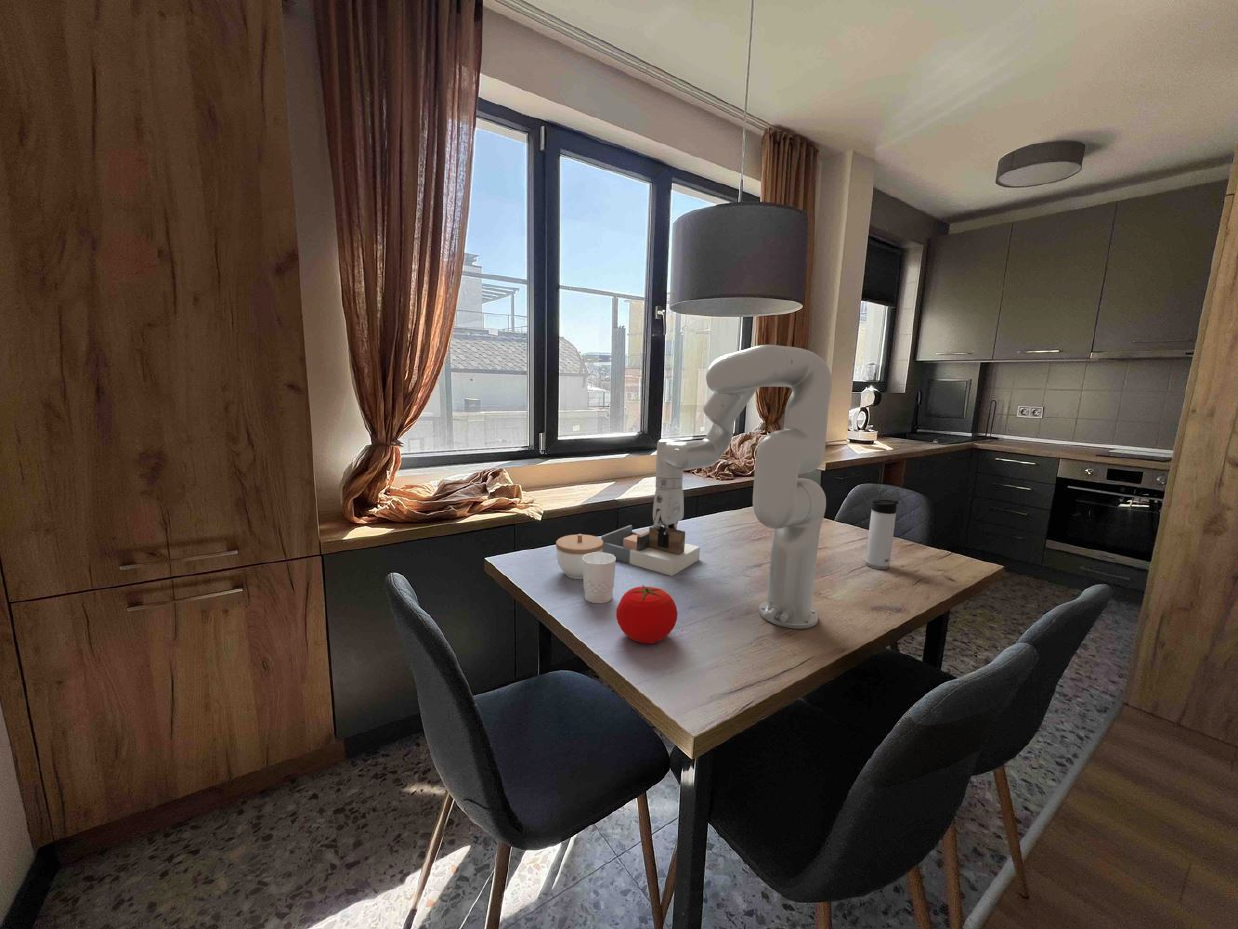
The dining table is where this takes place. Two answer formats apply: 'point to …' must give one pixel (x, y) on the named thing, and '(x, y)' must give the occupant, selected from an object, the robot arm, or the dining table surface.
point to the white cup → (598, 576)
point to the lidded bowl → (576, 552)
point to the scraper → (651, 540)
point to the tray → (618, 543)
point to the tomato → (646, 614)
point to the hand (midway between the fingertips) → (666, 544)
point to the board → (665, 559)
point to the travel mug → (881, 533)
